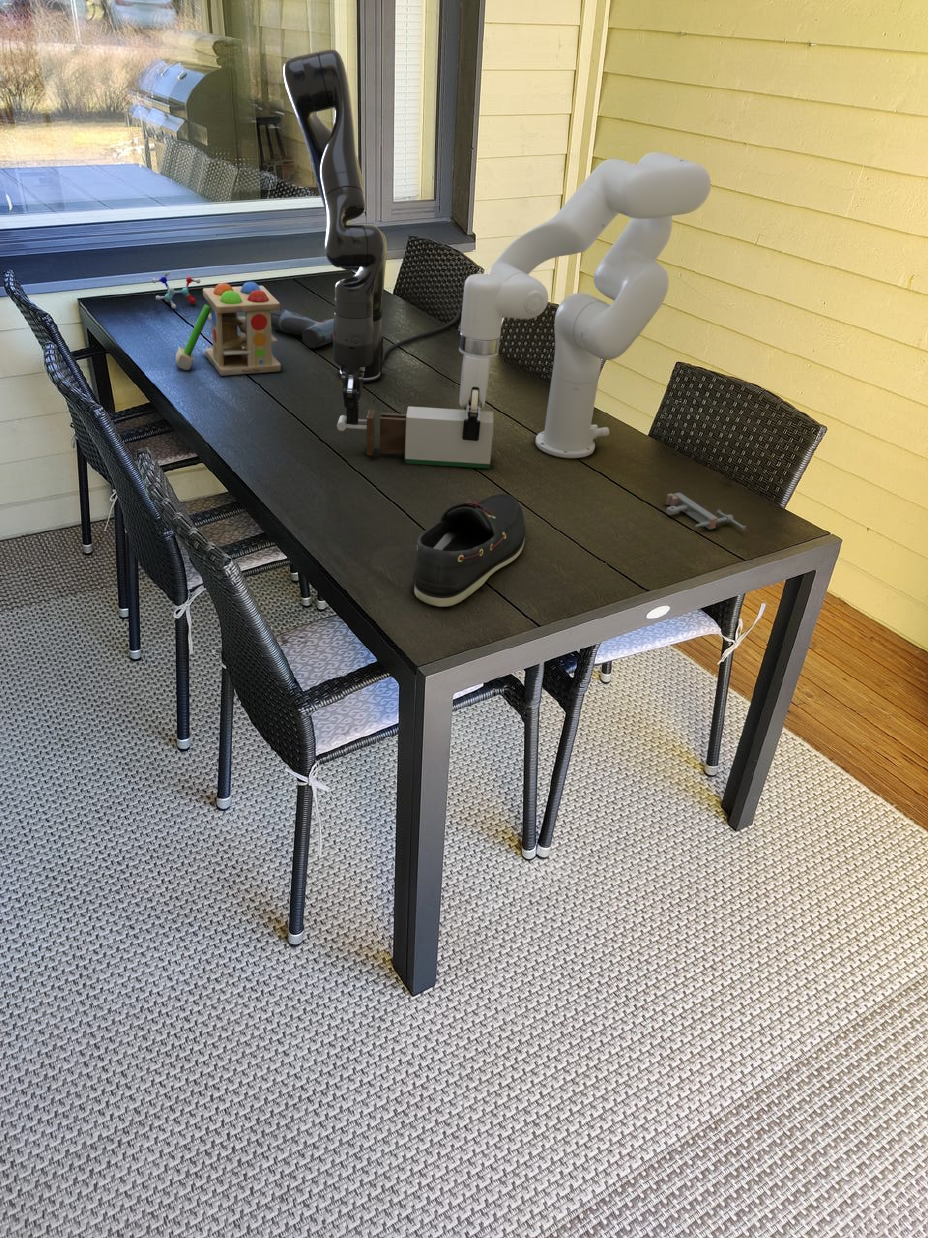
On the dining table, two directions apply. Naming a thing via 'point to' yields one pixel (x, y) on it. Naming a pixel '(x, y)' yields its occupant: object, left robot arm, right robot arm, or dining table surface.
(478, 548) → the boat shoe
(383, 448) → the drawer
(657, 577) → the dining table surface
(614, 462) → the dining table surface
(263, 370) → the pounding bench toy
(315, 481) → the dining table surface
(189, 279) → the molecular model
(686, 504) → the clamp
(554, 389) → the right robot arm
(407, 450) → the cabinet
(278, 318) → the power drill
